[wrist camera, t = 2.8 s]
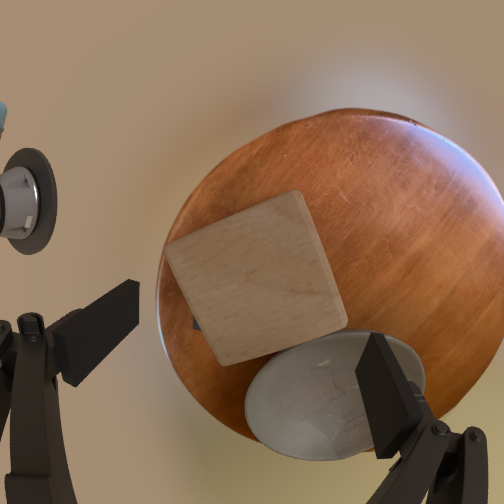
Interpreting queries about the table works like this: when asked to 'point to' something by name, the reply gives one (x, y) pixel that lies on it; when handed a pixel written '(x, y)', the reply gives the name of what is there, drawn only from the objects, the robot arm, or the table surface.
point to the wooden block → (258, 280)
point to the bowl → (319, 396)
